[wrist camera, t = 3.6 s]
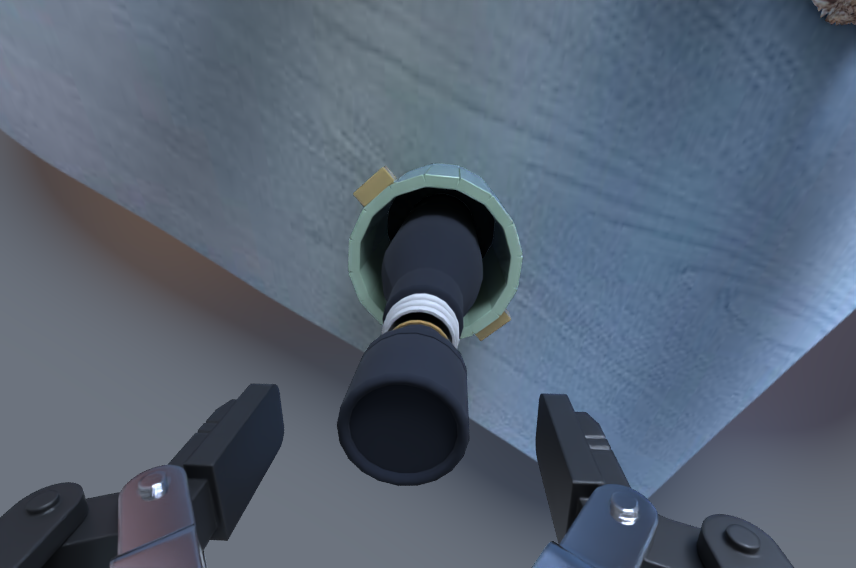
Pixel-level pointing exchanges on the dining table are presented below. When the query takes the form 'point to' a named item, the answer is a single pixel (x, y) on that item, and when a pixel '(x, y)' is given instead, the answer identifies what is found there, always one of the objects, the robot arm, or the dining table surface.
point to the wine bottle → (417, 351)
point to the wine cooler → (374, 241)
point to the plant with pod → (837, 11)
